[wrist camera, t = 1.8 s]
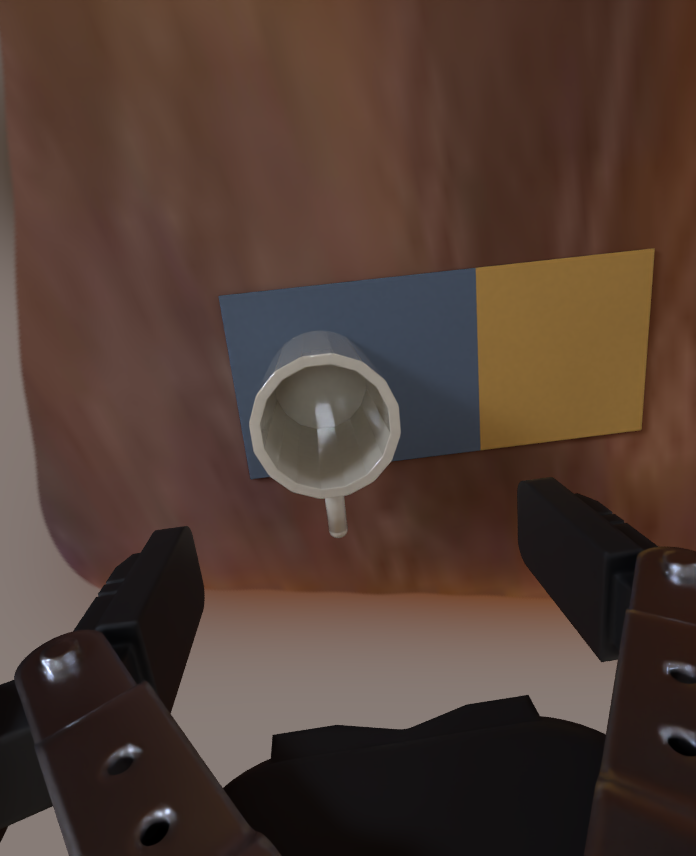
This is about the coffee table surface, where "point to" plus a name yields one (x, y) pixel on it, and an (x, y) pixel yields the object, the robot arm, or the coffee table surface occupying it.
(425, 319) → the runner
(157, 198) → the coffee table surface
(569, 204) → the coffee table surface
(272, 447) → the mug
